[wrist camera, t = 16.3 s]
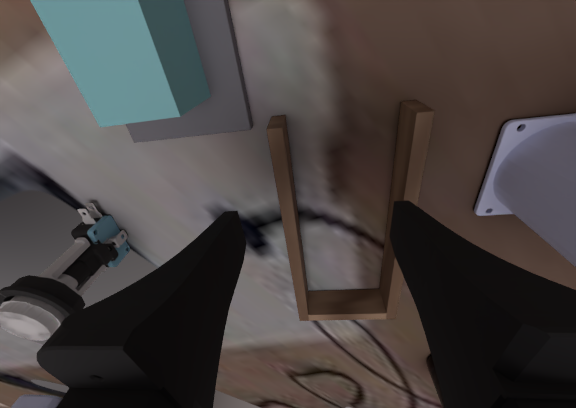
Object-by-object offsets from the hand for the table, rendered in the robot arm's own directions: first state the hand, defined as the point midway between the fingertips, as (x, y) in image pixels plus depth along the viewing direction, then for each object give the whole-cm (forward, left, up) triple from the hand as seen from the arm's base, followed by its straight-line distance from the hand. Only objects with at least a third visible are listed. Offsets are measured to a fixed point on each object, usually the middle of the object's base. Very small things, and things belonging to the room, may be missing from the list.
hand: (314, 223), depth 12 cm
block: (+9, -8, -8) cm, 14 cm away
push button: (+21, +6, -10) cm, 23 cm away
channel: (-2, +8, -9) cm, 12 cm away
